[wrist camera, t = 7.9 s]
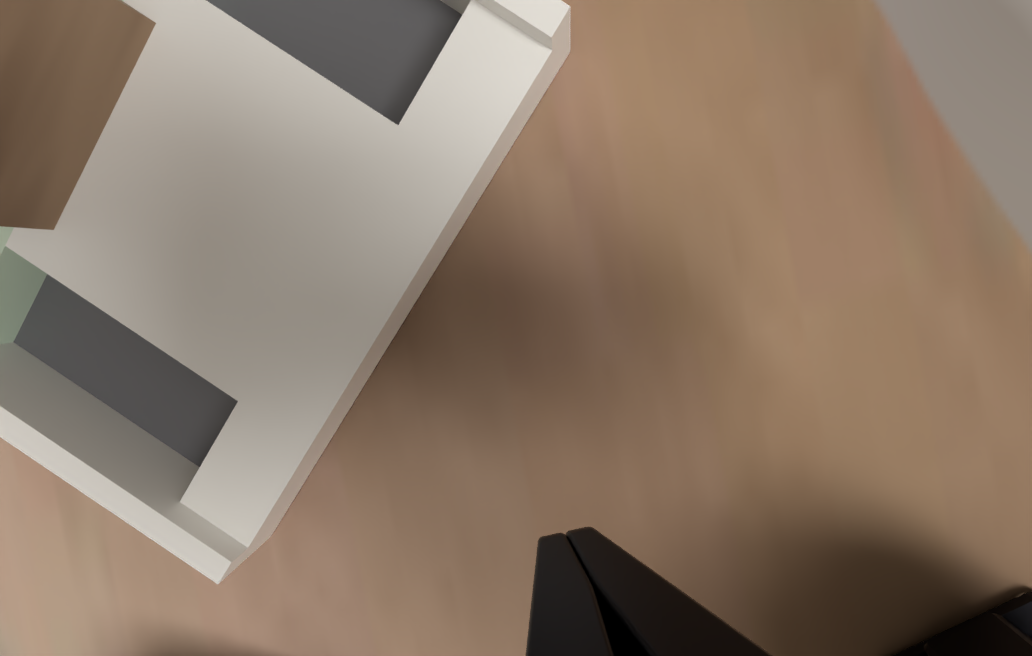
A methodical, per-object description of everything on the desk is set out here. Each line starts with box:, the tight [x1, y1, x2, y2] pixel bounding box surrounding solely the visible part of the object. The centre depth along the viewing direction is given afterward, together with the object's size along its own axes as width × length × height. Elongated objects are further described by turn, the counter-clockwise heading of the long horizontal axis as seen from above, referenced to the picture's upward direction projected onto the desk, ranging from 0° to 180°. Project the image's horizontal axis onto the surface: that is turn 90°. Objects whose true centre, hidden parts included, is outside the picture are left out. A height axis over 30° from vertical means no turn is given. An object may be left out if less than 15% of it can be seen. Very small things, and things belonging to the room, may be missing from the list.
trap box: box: [0, 0, 570, 584], centre depth 20 cm, size 22×22×4 cm
